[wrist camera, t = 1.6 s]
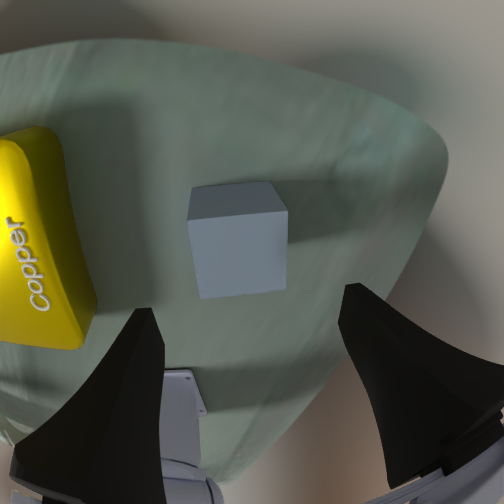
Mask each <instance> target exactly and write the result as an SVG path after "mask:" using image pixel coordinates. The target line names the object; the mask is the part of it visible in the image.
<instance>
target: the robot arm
mask: <svg viewBox="0 0 504 504" xmlns="http://www.w3.org/2000/svg"><path fill="white" fill-rule="evenodd" d="M338 325H339V329H340V332H341V335H342V338H343V341H344V344H345V346H346V348H347V351H348V353H349V355H350V356H351V359H352V361H353V363H354V365H355V367H356V370H357V372H358V374H359V376H360V378H361V380H362V382H363V384H364V387H365V389H366V391H367V393H368V396H369V399H370V402H371V405H372V408H373V412H374V415H375V418H376V422H377V426H378V429H379V433H380V438H381V442H382V447H383V452H384V458H385V464H386V471H387V480H388V484H389V487H390V489H394V488H396V487H398V486H401V485H403V484H405V483H407V482H409V481H411V480H413V479H415V478H418V477H421V479H419V480H417V481H415V482H412V483H411V484H408V485H406V486H404V487H402V488H400V489H398V490H395V491H393V492H390V493H388V494H386V495H383V496H381V497H378V498H376V499H373V500H370V501H368V502H365V503H362V504H404V503H406V502H408V501H410V500H411V501H410V502H409V504H497V503H498V501H499V500H500V499H501V498H502V497H503V496H504V424H502V423H501V421H500V419H502V418H503V414H502V412H501V411H500V410H501V409H502V408H503V407H504V365H500V364H496V363H493V362H489V361H486V360H484V359H481V358H478V357H476V356H473V355H470V354H468V353H466V352H464V351H462V350H459V349H457V348H455V347H453V346H451V345H449V344H447V343H445V342H444V341H442V340H440V339H438V338H437V337H435V336H433V335H432V334H430V333H428V332H426V331H425V330H423V329H422V328H421V327H419V326H418V325H416V324H415V323H413V322H412V321H410V320H409V319H408V318H406V317H404V316H403V315H402V314H401V313H399V312H398V311H397V310H395V309H394V308H392V307H391V306H390V305H389V304H387V303H386V302H385V301H384V300H382V299H381V298H380V297H378V296H377V295H376V294H374V293H373V292H372V291H371V290H369V289H368V288H367V287H365V286H364V285H362V284H361V283H354V284H348V285H345V290H344V295H343V300H342V305H341V310H340V315H339V319H338ZM164 370H165V344H164V341H163V339H162V336H161V333H160V331H159V328H158V325H157V322H156V320H155V317H154V314H153V311H152V308H138V309H135V310H134V312H133V313H132V315H131V316H130V318H129V319H128V321H127V322H126V324H125V326H124V327H123V329H122V330H121V332H120V333H119V335H118V336H117V338H116V339H115V341H114V342H113V344H112V345H111V347H110V348H109V350H108V352H107V353H106V354H105V356H104V357H103V359H102V360H101V361H100V363H99V364H98V366H97V367H96V368H95V370H94V371H93V372H92V374H91V375H90V376H89V378H88V379H87V380H86V381H85V383H84V384H83V385H82V386H81V387H80V388H79V390H78V391H77V392H76V393H75V394H74V395H73V396H72V397H71V398H70V399H69V400H68V401H67V402H66V403H65V404H64V406H63V407H62V408H61V409H60V410H59V411H58V412H57V413H55V414H54V415H53V416H52V417H51V418H50V419H49V420H48V421H46V422H45V423H44V424H43V425H42V426H41V427H39V428H38V429H37V430H36V431H34V432H33V433H31V434H30V435H29V436H27V437H26V438H24V439H23V440H22V441H20V442H19V443H17V444H16V445H15V447H14V452H13V457H12V462H11V468H10V473H9V476H10V478H11V479H12V480H14V481H15V482H17V483H19V484H21V485H23V486H24V487H26V488H28V489H30V490H32V491H34V492H36V493H39V494H41V495H43V498H42V501H40V500H38V499H36V498H33V497H31V496H28V495H26V494H23V493H21V492H19V491H17V490H15V489H13V490H12V497H11V504H224V500H223V495H222V492H221V490H220V488H219V486H218V485H217V484H216V483H215V482H214V480H213V479H212V478H210V477H206V472H205V469H201V468H199V464H200V461H201V451H200V433H199V417H202V416H206V415H207V411H206V408H205V405H204V403H203V400H202V397H201V395H200V392H199V389H198V387H197V384H196V381H195V378H194V375H193V373H192V371H191V370H188V369H184V370H165V371H164Z"/></svg>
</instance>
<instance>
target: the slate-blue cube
mask: <svg viewBox="0 0 504 504" xmlns="http://www.w3.org/2000/svg"><path fill="white" fill-rule="evenodd" d="M187 225H188V231H189V237H190V244H191V249H192V255H193V261H194V267H195V272H196V278H197V283H198V289H199V294H200V299H208V298H218V297H227V296H236V295H245V294H254V293H262V292H270V291H278V290H286V271H287V238H288V210H287V208H286V207H285V205H284V204H283V202H282V200H281V199H280V197H279V196H278V194H277V192H276V191H275V189H274V188H273V186H272V184H271V183H270V181H265V182H251V183H239V184H228V185H217V186H208V187H198V188H192V191H191V197H190V204H189V210H188V216H187Z"/></svg>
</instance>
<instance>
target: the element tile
mask: <svg viewBox="0 0 504 504" xmlns="http://www.w3.org/2000/svg"><path fill="white" fill-rule="evenodd" d="M96 306H97V299H96V295H95V292H94V289H93V285H92V282H91V279H90V276H89V273H88V269H87V266H86V263H85V259H84V256H83V252H82V248H81V244H80V240H79V237H78V232H77V228H76V224H75V220H74V215H73V210H72V205H71V200H70V195H69V189H68V184H67V178H66V171H65V164H64V157H63V151H62V148H61V144H60V142H59V140H58V138H57V136H56V135H55V134H54V133H53V132H52V131H51V130H50V129H48V128H45V127H41V126H34V127H29V128H26V129H22V130H19V131H16V132H13V133H9V134H6V135H3V136H0V341H3V342H9V343H15V344H21V345H28V346H35V347H43V348H51V349H60V350H75V349H78V348H80V347H81V346H82V345H83V344H84V342H85V339H86V336H87V333H88V330H89V327H90V324H91V322H92V319H93V316H94V314H95V311H96Z"/></svg>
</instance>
